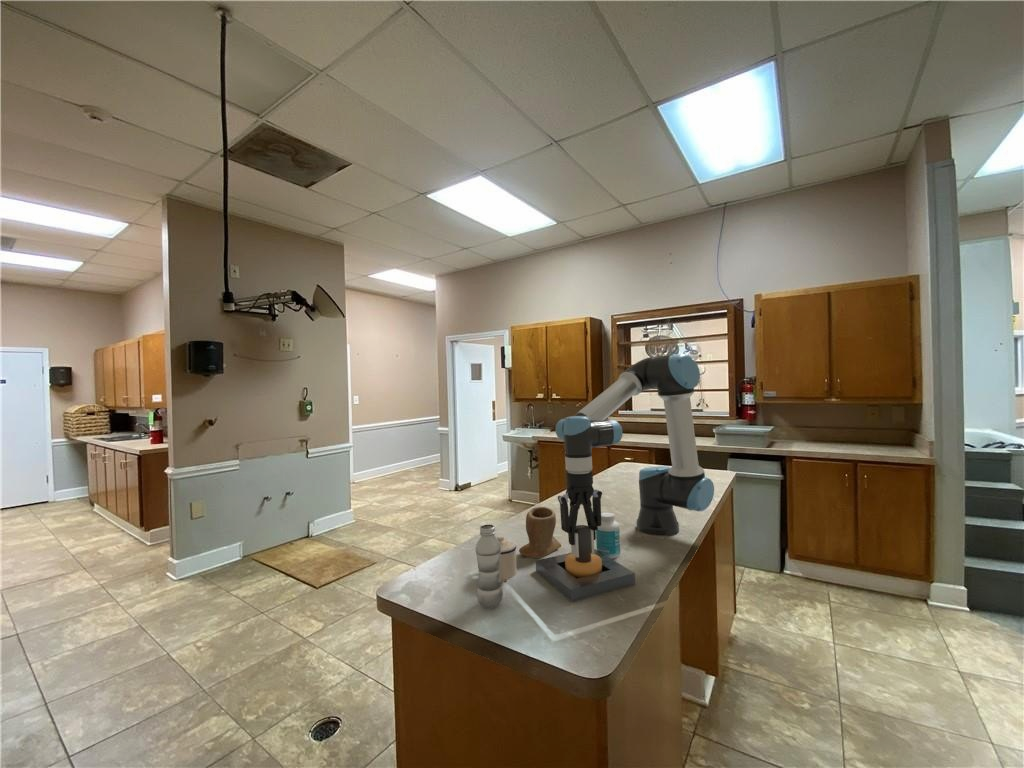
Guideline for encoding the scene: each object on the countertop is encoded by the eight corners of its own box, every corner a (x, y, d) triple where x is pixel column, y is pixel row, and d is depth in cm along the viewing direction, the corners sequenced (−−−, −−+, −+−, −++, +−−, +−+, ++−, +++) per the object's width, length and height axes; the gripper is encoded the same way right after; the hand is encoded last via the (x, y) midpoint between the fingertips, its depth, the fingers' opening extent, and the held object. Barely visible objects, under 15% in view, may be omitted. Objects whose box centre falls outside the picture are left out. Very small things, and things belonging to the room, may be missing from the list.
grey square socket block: (593, 560, 129) (592, 547, 129) (635, 587, 111) (634, 572, 111) (536, 574, 121) (535, 560, 121) (571, 606, 103) (570, 589, 103)
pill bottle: (621, 562, 127) (619, 518, 127) (597, 561, 128) (595, 518, 129) (620, 552, 134) (618, 511, 134) (597, 551, 136) (595, 510, 136)
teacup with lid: (523, 573, 122) (522, 534, 122) (504, 586, 115) (502, 544, 115) (492, 564, 129) (491, 527, 129) (473, 576, 122) (471, 536, 122)
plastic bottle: (477, 599, 108) (473, 523, 108) (502, 597, 108) (499, 521, 109) (477, 613, 101) (473, 531, 102) (504, 610, 102) (500, 530, 102)
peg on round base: (588, 559, 122) (586, 519, 123) (609, 573, 113) (607, 529, 113) (559, 567, 118) (557, 525, 119) (578, 581, 109) (575, 536, 109)
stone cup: (541, 565, 127) (539, 517, 127) (514, 555, 136) (512, 510, 136) (571, 550, 138) (569, 505, 138) (544, 542, 146) (542, 500, 146)
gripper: (597, 465, 123) (600, 543, 123) (545, 472, 116) (549, 555, 116) (612, 469, 116) (616, 552, 116) (558, 477, 109) (562, 565, 109)
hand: (583, 553), depth 116 cm, fingers closed on peg on round base, 4 cm apart
